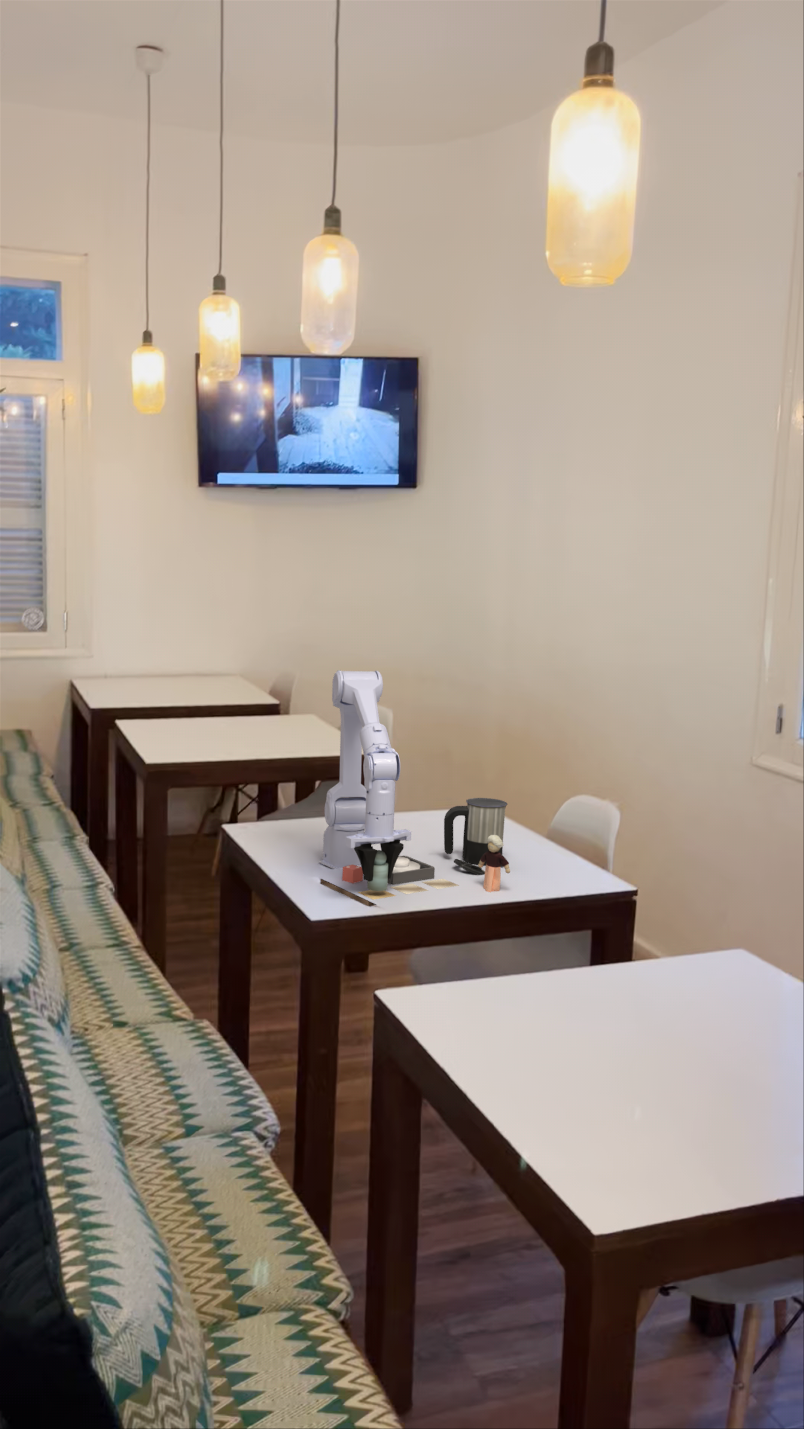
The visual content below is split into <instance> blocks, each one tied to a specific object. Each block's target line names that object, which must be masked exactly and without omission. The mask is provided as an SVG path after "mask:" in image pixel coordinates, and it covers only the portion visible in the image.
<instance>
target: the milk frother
mask: <svg viewBox="0 0 804 1429" xmlns="http://www.w3.org/2000/svg"><path fill="white" fill-rule="evenodd" d="M465 803H466V805H455V806H453V807H451V808H449V809H448V811H447V812H446V813H445V815H444V819H443V838H444V839H443V842H444V843H443V845H444V846H443V847H444V848H443V849H444V853H446V855H452V853H453V852H454V820H455V819H456V818H457V817H459V816H460V817H461V816H463V817H464V825H463V836H462V837H463V841H462V843H463V844H462V859H463V860H461V859H459V858H454V860H453V863H454V864H455V865H457V866H458V867H459V868H461V869H463V870H465V871H467V872H468V873H470V874H475V875H477V876H483V875H484V876H485V869H482V868H483V867H486V862H485V863H484V864H483V867H482V868H480V867H479V866H478V864H479V862H480V859H481V857H482V856H483V854H484V853H486V852H487V851H490V850H489V849H488V841H487V840H488V837H489V836H490V835H497V836H499V837H500V839H501V840H502V842H503V843H504V832H505V830H504V829H505V816H506V807H507V805H508V803H507V801H505V800H502V799H498V798H497V799H496V798H488V797H473V798H468V799H466V801H465ZM503 847H504V846H502V847H501V848H500V850H499V851H498V852H499V853H500V854H501V855H503ZM501 868H504V867H503V866H502V865H501Z"/></svg>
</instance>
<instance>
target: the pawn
mask: <svg viewBox="0 0 804 1429" xmlns="http://www.w3.org/2000/svg"><path fill="white" fill-rule="evenodd" d="M376 850H377V854H376V857H375V861H374V870H373V880H372V881H370V882H369V881H367V885H366V886H367V887H366V889H368V890H372V891H384V890H385V891H387V890H388V863H386V854H385V853H384V852H383V851H381V849H376Z"/></svg>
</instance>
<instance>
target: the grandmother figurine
mask: <svg viewBox="0 0 804 1429" xmlns="http://www.w3.org/2000/svg"><path fill="white" fill-rule="evenodd" d="M487 841H488V849H489V850H490V851H487V852H486V853H484V854H483V856H482V857H481V859H480V862H479V864H478V865H477V866H478V867H480V868H483V867H485V868H484V871H485V874H484V877H483V889H484V890H485V892H488V893H492V892H500V889H501V888H500V887H501V879H502V877H501V872H502V871H501V865H502V866H503V867H502V868H504V870H505V873H506V874H510V873H511V869H510V862H509V861H508V860H507V858H506V857H505V856H504V855H503V854H502V855H501V854H500V853H499V852H498V851H499V850H500V848H501V847H502V846H503V847H504V845H505V844H504V841H503V842H502V840H501V839H500V837H499V836H497V835H490V836H489V837H488V840H487ZM485 862H486V866H483V864H484V863H485Z"/></svg>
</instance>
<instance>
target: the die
mask: <svg viewBox="0 0 804 1429" xmlns="http://www.w3.org/2000/svg"><path fill="white" fill-rule="evenodd" d="M363 880H364V876H363V871H362V867H361V865H358V866H356V865H349V866H345V867H343V868H342V876H341V881H342V882H343V881H344V882H348V883H350V884H356V883H359V882H363Z"/></svg>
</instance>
